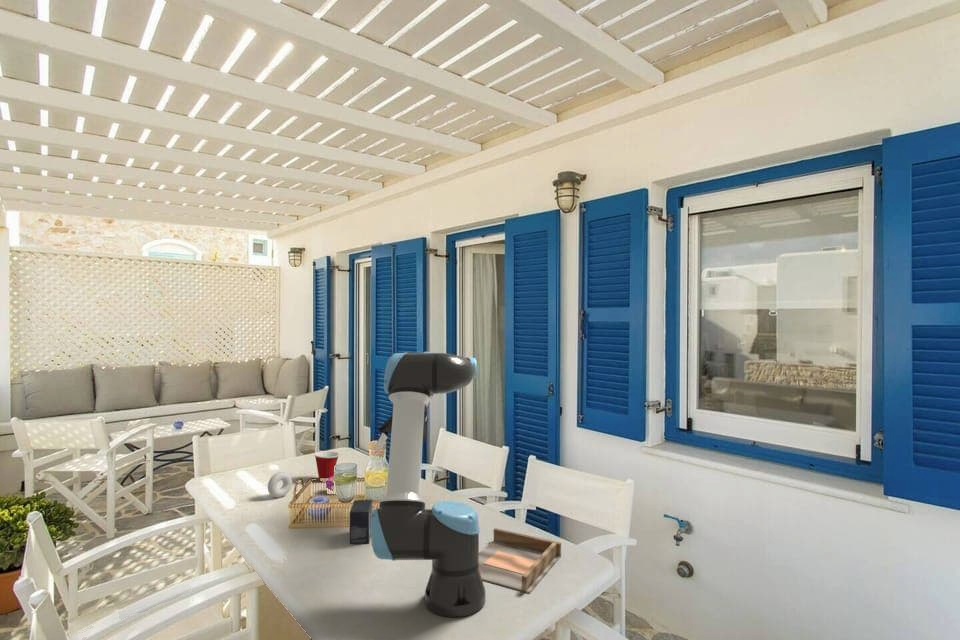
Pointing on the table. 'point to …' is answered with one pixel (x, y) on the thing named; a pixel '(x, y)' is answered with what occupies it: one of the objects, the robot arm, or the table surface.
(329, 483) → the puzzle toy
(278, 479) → the donut
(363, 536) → the small box
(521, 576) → the wooden tray
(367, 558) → the table surface
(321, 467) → the plastic cup
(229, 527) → the table surface
